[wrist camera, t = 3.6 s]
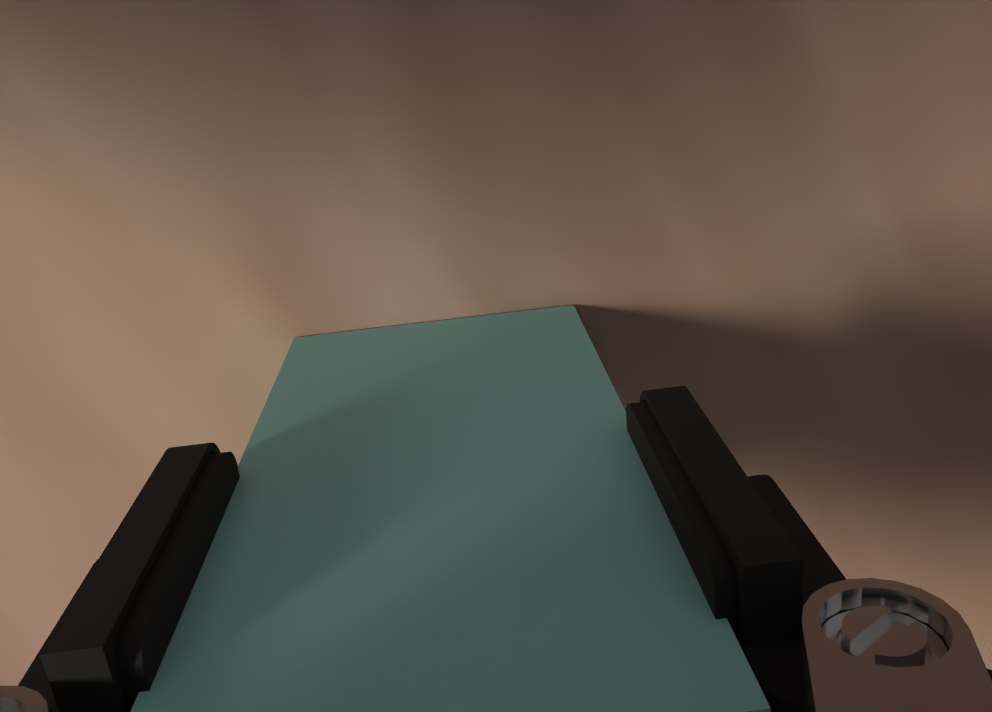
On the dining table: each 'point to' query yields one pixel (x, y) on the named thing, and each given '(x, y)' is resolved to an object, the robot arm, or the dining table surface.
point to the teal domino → (448, 541)
